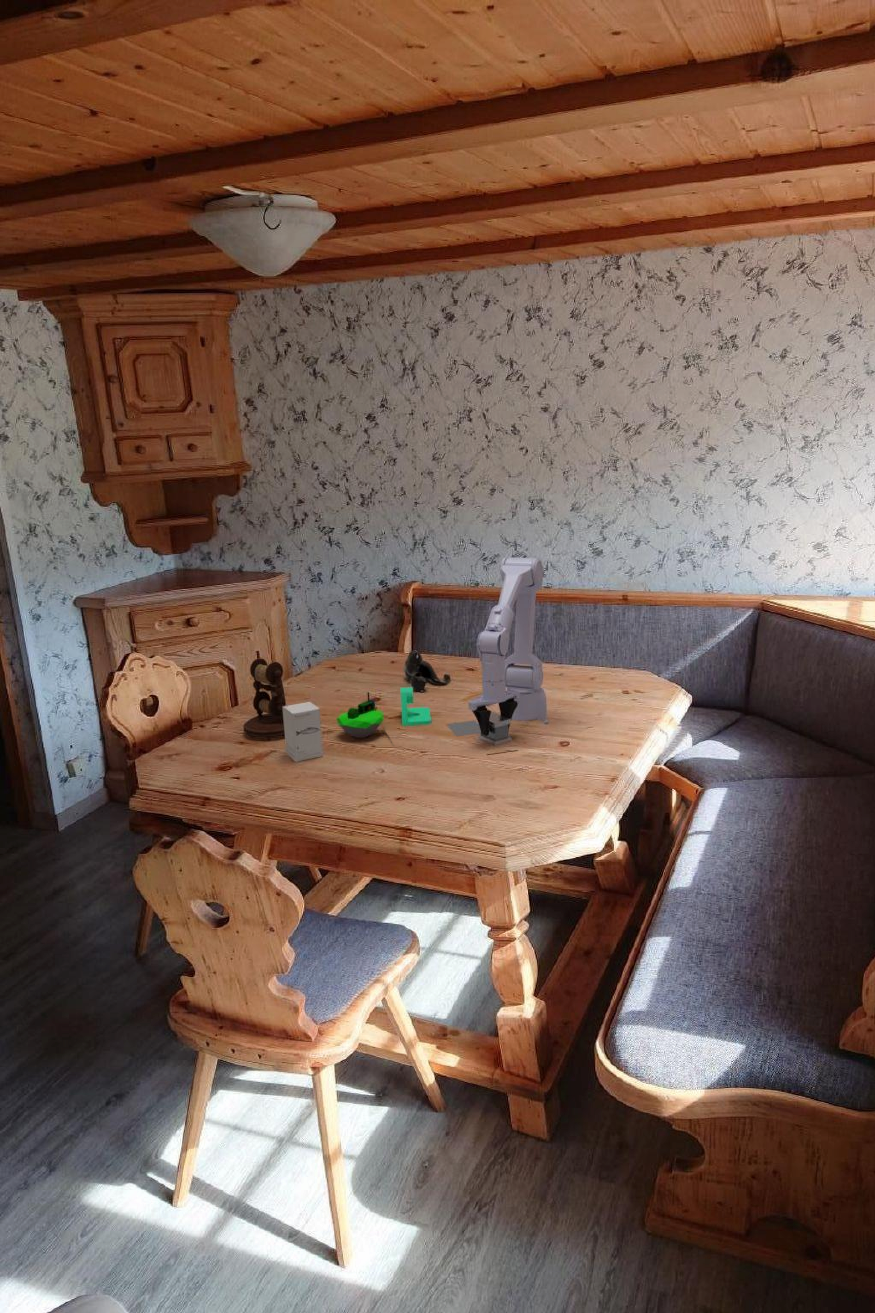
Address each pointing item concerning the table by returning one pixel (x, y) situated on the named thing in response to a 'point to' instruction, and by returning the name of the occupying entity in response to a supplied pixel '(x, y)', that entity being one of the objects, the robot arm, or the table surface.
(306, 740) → the supplement box
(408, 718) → the camera mount
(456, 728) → the stand
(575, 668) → the table surface
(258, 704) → the brown upright round-based piece
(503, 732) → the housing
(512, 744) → the stand
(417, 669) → the cat figurine
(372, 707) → the green floating island model
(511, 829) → the table surface
